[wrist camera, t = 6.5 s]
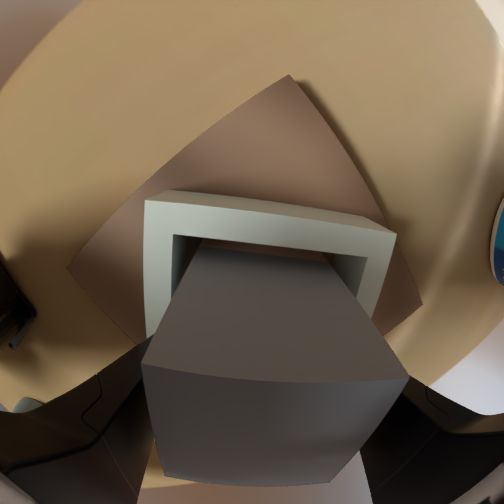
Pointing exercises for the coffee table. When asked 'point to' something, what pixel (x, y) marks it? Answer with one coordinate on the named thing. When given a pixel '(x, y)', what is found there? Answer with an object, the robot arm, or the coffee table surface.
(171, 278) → the holder collar
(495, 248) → the beverage bottle
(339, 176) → the walnut board
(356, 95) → the coffee table surface
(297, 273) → the banded block
